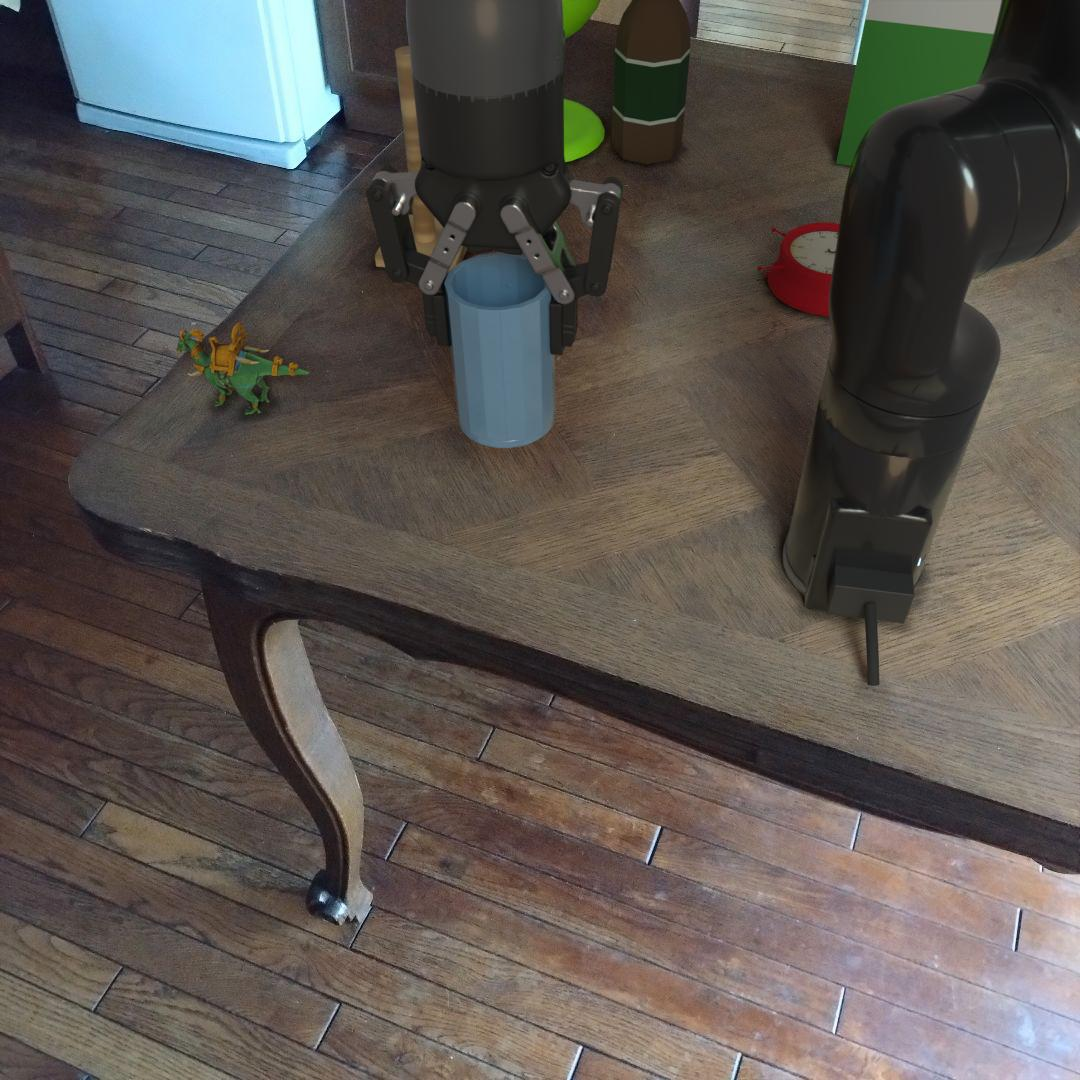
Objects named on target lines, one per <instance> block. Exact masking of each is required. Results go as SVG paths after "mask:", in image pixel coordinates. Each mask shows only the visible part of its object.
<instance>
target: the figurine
mask: <svg viewBox="0 0 1080 1080" xmlns="http://www.w3.org/2000/svg"><path fill="white" fill-rule="evenodd" d="M238 331H239V333H238ZM244 331H245V327H244V324H243V322H237V323H236V324H234V326H233V328H232V331H231V335H230V337H231V342H230V344H227V343H219V339H218V337H217V336H212V337H211V336H210V337H209V338H208V341H209V343H210V345H211V348H212V351H211V352H210V353H208V352H207V351H206V349H205V347H204V346H203V344H202V343H201V342H203V338H204V336H205V333H204V332H203V331H202V330H200V329H199V328H193V329H192V330H190V332H188V330H187V329H185V328H184V329H181V330H180V332H179V337H180V338H179V340H178V342H177V346H176V349H175V350H176V353H177V354H179V355H180V354H182V352H188V351H190V356H191V358H192V360H193V363H192V365H193V367H194V368H195V370H196V371H195V372H193V373H188V372H187V373H186V374H187V375H188V376H190V377H193V378H194V377H196V378H197V377H200V376H202V375H204V376H205V379H206V380H207V382H208V383H209V384H210V385H211V386H212V387H213V388H214V389H216V390H217V391H218V392H219V393H220V394H219V396H218V400H215V404H214V407H219V406H222V405H223V404H224V403H225V402H226V400H227V399H226V398H227V396H231V395H232V394H233V392H234V390H235V391H236V392H237V393H238V396H240V397H241V398H243V399H244V400H246V401H249V402H251V406H248V407H247V408H246V409H245V411H244V415H246V416H247V415H253V414H254V413H256V412H257V414H261V413H262V411H261V409H259V407H258V406H259V402H265V401H266V403H267V404H268V403H270V400H269V398H268V392H269V389H270V387H269V386H268V385H267V384H266V383H265V381H264V377H265V376H271V377H279V376H285V375H286V376H291V377H294V376H295V377H296V376H307V375H309V374H310V371H308V370H306V369H303V368H299V364H298V363H295V362H289V364H288V365H284V364H283V363H284V358H281V357H279V356H278V355H276V356H274V357H273V360H268V359H266V358H264V357H260V356H258V355H256V354H266V353H268V352H269V351H270V349H261V348H257V347H254V346H253V347H252V346H248V345H246V344H244V341H247V340H248V335H249V333H247V332H244ZM184 333H185V334H184ZM192 337H196V339H193V338H192ZM253 353H256V354H253ZM255 386H257V387H259V388H260V389H261V392H260V393H261V394H258V396H256V395H255V394H254V393H253V389H254V387H255ZM224 389H227V390H226V391H225V390H224Z"/></svg>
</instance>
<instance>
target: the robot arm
mask: <svg viewBox="0 0 1080 1080" xmlns="http://www.w3.org/2000/svg"><path fill="white" fill-rule="evenodd" d="M405 16H406V17H405V18H406V20H405V21H406V30H407V37H408V38H407V40H408V46H409V51H410V60H411V69H412V79H413V89H414V97H415V107H416V116H417V126H418V135H419V145H420V154H421V166H420V170H419V171H418V172H408V171H404V172H399V171H398V170H397V168H396V167H394V166H393V165H390V164H383V165H381V166H380V167H379V168H378V170H377V172H376V173H375V175H374V177H373V178H372V180H371V182H370V184H369V185H368V187H367V189H366V192H365V195H366V199H367V204H368V207H369V211H370V215H371V219H372V223H373V227H374V230H375V234H376V237H377V241H378V245H379V247H380V249H381V253H382V257H383V260H384V264H385V267H384V269H385V271H386V276H387V277H388V279H389V280H390V281H392V282H393V283H396V284H402V283H404V282H407V283H409V284H412V285H415V286H416V287H417V288H418V289H419V290H420V292H421V295H422V303H423V312H424V313H423V314H424V321H425V329H426V331H427V333H428V335H429V336H430V337H433V338H434V337H435V338H436V343H437V346H438V347H450V338H449V328H448V317H447V307H446V297H445V287H444V282H445V280H446V277H447V275H448V273H447V272H448V270H449V269H450V267H451V265H452V263H453V261H454V259H455V257H456V255H457V253H458V251H459V249H460V247H461V245H462V246H464V247H467V251H466V253H481V254H482V253H486V252H491V251H496V252H502V253H506V254H512V255H522V253H524V254H525V256H526V258H527V260H528V261H529V263H530V265H531V266H532V268H533V270H534V272H535V273H536V274H537V275H541V276H542V278H543V280H544V282H545V283H546V285H547V287H548V288H549V290H550V292H551V294H552V298H551V301H550V352H551V355H555V356H564V352H565V349H566V348H572V346H573V345H574V342H575V339H576V335H577V331H578V327H579V320H578V319H579V316H578V315H579V298H581V297H583V296H587V295H589V296H590V297H594V298H599V297H601V296H603V295H604V294H605V293H606V292H607V287H608V280H609V275H610V273H611V268H612V263H613V256H614V249H615V243H616V238H617V237H616V236H617V231H618V224H619V218H620V217H619V216H620V212H621V204H622V198H623V191H624V185H623V182H622V181H621V180H620V179H619V178H617V177H614V176H609V177H606V178H605V179H604V180H603V181H601V183H598V182H597V183H596V182H591V181H590V182H589V181H584V180H577V179H574V177H573V174H572V173H571V171H570V169H569V166H568V165H567V162H565V158H564V99H565V96H564V95H565V91H564V88H565V87H564V85H565V84H564V81H565V80H564V76H565V75H564V74H565V73H564V70H565V69H564V56H565V53H566V48H567V41H566V40H567V39H566V38H565V30H564V29H563V5H562V0H405ZM849 167H850V168H849V170H848V175H847V179H846V182H845V183H846V184H845V189H844V194H843V200H842V205H841V212H840V219H839V224H840V225H839V232H838V238H837V245H836V251H835V258H834V264H833V270H832V276H831V283H830V290H829V316H828V317H829V322H830V329H831V330H830V331H831V343H830V348H829V351H828V357H827V362H826V367H825V371H824V375H823V380H822V383H821V388H820V392H819V397H818V400H817V405H816V410H815V414H814V416H813V422H812V427H811V431H810V436H809V440H808V445H807V448H806V453H805V456H804V457H805V458H804V462H803V465H802V470H801V471H802V472H801V475H800V479H799V483H798V488H797V492H796V496H795V501H793V502H792V503H791V506H790V509H789V515H788V519H790V518H791V520H790V524H789V527H788V528H789V529H788V533H787V535H786V537H785V541H784V544H783V548H782V557H781V558H782V565H783V569H784V572H785V574H786V576H787V578H788V579H789V581H790V582H791V584H792V585H793V586H794V588H796V589H797V591H799V592H800V593H801V594H802V595H803V598H804V607H805V608H806V609H808V610H812V611H813V610H814V611H822V612H826V614H827V615H833V616H840V617H849V618H857V619H862V620H863V619H864V628H865V648H866V682H867V683H866V686H870V687H878V686H880V653H879V635H878V633H879V632H878V631H879V630H878V621H879V622H880V621H881V622H887V623H888V622H889V623H895V624H905V623H906V620H907V617H908V614H909V612H910V610H911V606H912V603H913V601H914V599H915V593H916V591H917V589H918V586H919V584H920V582H921V579H922V576H923V568H924V566H925V563H926V561H927V558H928V555H929V552H930V550H931V547H932V544H933V542H934V538H935V535H936V534H937V530H938V527H939V525H940V523H941V520H942V517H943V514H944V511H945V509H946V506H947V503H948V500H949V498H950V495H951V492H952V490H953V486H954V484H955V483H956V479H957V477H958V473H959V471H960V467H961V465H962V462H963V460H964V457H965V454H966V451H967V449H968V447H969V444H970V440H971V438H972V435H973V433H974V430H975V428H976V426H977V422H978V419H979V418H980V417H979V416H980V414H981V413H982V412H981V411H982V409H983V406H984V403H985V401H986V398H987V396H988V394H989V391H990V388H991V386H992V383H993V380H994V378H995V376H996V373H997V369H998V367H999V363H1000V361H1001V360H1000V359H1001V352H1002V344H1001V339H1000V337H999V334H998V332H997V330H996V328H995V326H994V325H993V323H992V322H991V321H990V320H989V318H987V316H985V315H984V314H983V313H981V311H979V310H978V309H977V308H975V307H973V306H972V305H970V304H969V303H967V302H965V299H966V297H967V293H968V290H969V287H970V285H971V282H972V280H974V279H977V278H980V277H982V276H987V275H989V274H992V273H995V272H997V271H1001V270H1005V269H1008V268H1010V267H1013V266H1016V265H1019V264H1022V263H1025V262H1028V261H1031V260H1033V259H1037V258H1039V257H1041V256H1043V255H1045V254H1047V253H1049V252H1050V251H1052V250H1053V249H1055V248H1057V247H1058V246H1059V245H1061V244H1063V243H1064V242H1065V241H1066V240H1067V239H1069V238H1070V236H1072V234H1073V233H1074V232H1075V231H1076V229H1078V227H1079V226H1080V0H1001V5H1000V10H999V14H998V18H997V23H996V27H995V31H994V35H993V38H992V42H991V46H990V49H989V53H988V56H987V59H986V62H985V65H984V68H983V70H982V73H981V75H980V78H979V80H978V82H977V84H976V85H974V86H970V87H967V88H963V89H959V90H955V91H951V92H947V93H944V94H940V95H936V96H932V97H928V98H925V99H921V100H917V101H914V102H910V103H907V104H904V105H900V106H898V107H896V108H893V109H891V110H889V111H887V112H886V113H884V114H883V115H882V116H880V117H879V118H878V119H877V120H876V121H875V122H874V123H873V124H872V125H871V126H870V128H869V129H868V130H867V132H866V133H865V135H864V137H863V138H862V140H861V142H860V144H859V146H858V148H857V151H856V153H855V156H854V159H853V161H852V164H851V166H849ZM415 195H418V197H419V198H420V200H421V201H422V202H423V203H424V205H425V206H426V207H427V208H428V209H429V211H430V212H431V213H432V214H433V215H434V217H435V218H436V219H437V220H438V221H439V223H440V224H441V225H442V226H443V227H444V228H443V230H442V232H441V235H440V237H439V239H438V241H437V243H436V245H435V247H434V250H433V252H432V254H431V256H427V255H425V254H422V253H419V252H417V249H416V244H415V240H414V236H413V232H412V228H411V223H410V219H409V215H410V214H409V212H410V209H411V208H412V203H413V200H414V199H413V196H415ZM569 205H573V206H575V207H576V208H577V209H578V211H579V218H580V221H581V222H582V224H583V225H585V226H586V227H587V228H592V231H591V237H590V245H589V252H588V259H587V262H583V263H580V264H577V263H576V261H575V259H574V258H573V256H572V253H571V252H570V251H569V249H568V247H567V244H566V238H565V235H564V233H563V231H562V229H561V227H560V225H559V224H558V222H557V220H558V219H559V218H560V216H561V215H562V214H563V212H565V210H566V209H567V208H568V207H569ZM565 347H566V348H565Z"/></svg>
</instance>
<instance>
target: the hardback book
mask: <svg viewBox="0 0 1080 1080" xmlns="http://www.w3.org/2000/svg"><path fill="white" fill-rule="evenodd" d="M1000 5H1001V0H868V3H867V8H866V14H865V17H864V23H863V28H862V34H861V37H860V43H859V47H858V53H857V57H856V63H855V68H854V73H853V78H852V83H851V88H850V93H849V98H848V101H847V102H848V103H847V108H846V113H845V118H844V122H843V127H842V133H841V137H840V142H839V147H838V153H837V156H836V157H837V158H836V163H835V164H836V165H844V166H849V167H851V164H852V161H853V159H854V156H855V153H856V151H857V148H858V146H859V144H860V142H861V140H862V138H863V137H864V135H865V133H866V132H867V130H868V129H869V128H870V126H871V125H872V124H873V123H874V122H875V121H876V120H877V119H878V118H879V117H880V116H882V115H883V114H884V113H886V112H887V111H889V110H891V109H893V108H896V107H898V106H900V105H904V104H907V103H910V102H914V101H917V100H921V99H925V98H928V97H932V96H936V95H940V94H944V93H947V92H951V91H955V90H959V89H963V88H967V87H970V86H974V85H976V84H977V82H978V80H979V78H980V75H981V73H982V70H983V68H984V65H985V62H986V59H987V56H988V53H989V49H990V46H991V42H992V38H993V35H994V31H995V27H996V23H997V18H998V14H999V10H1000Z"/></svg>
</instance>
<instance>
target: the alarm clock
mask: <svg viewBox="0 0 1080 1080" xmlns="http://www.w3.org/2000/svg"><path fill="white" fill-rule="evenodd" d="M839 225H840V223H836V222H822V221H821V222H811V223H805V224H801V225H798V226H796V227H794V228H792V229H790V230H789V231H788V232H787V233H785V232H782V231H780V230H778V229H777V228H776V227H775V226H774V227H771V230H770V231H771V233H776V234H779V235H780V236H782V237H783V238H782V240H781V242H780V245H779V249H778V250H779V252H778V257H777V258H776V260H775V261H774V263H772V265H771V266H761V265H758V266H757V271H758V272H762V271H764V270H769V271H766V272H765V274H764V278H763V280H765V278H767V283H768V287H769V289H770V291H771V292H772V294H774V295H775V297H776V298H777V299H779V301H781V302H782V303H784V304H786V305H787V306H789V307H791V308H793V309H795V310H799V311H801V312H804V313H807V314H811V315H816V316H823V317H830V316H829V290H830V283H831V276H832V270H833V264H834V258H835V251H836V245H837V238H838V232H839Z"/></svg>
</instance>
